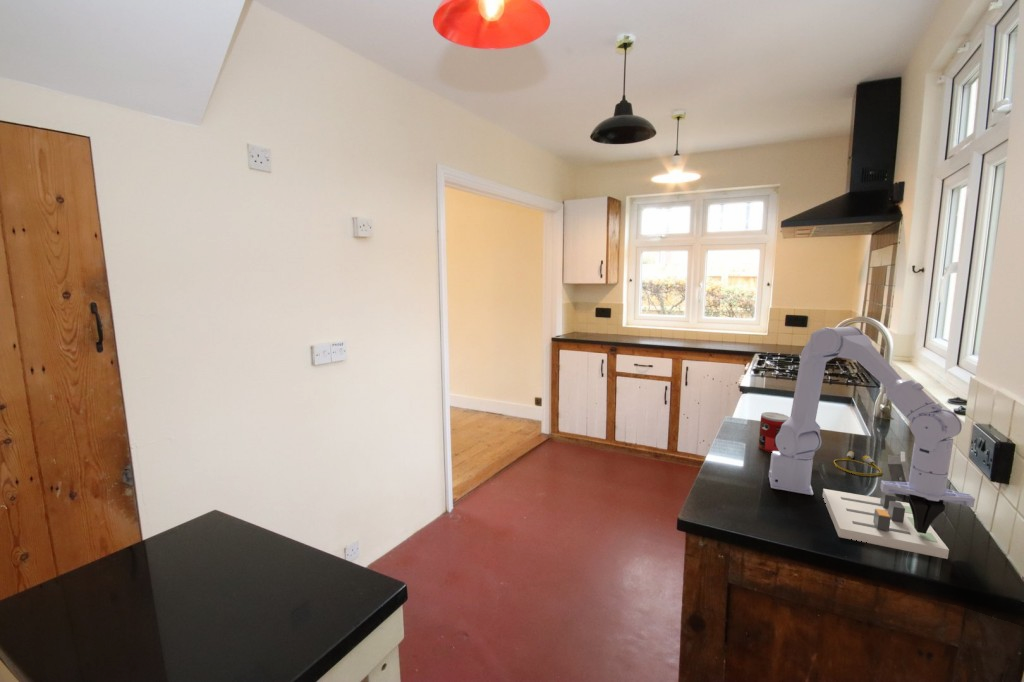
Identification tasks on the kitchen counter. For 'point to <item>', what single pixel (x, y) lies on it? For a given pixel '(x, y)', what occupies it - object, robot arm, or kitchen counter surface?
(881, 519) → the handle
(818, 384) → the robot arm
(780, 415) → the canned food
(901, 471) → the electrical switch
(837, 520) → the breaker panel
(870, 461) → the extension cord
